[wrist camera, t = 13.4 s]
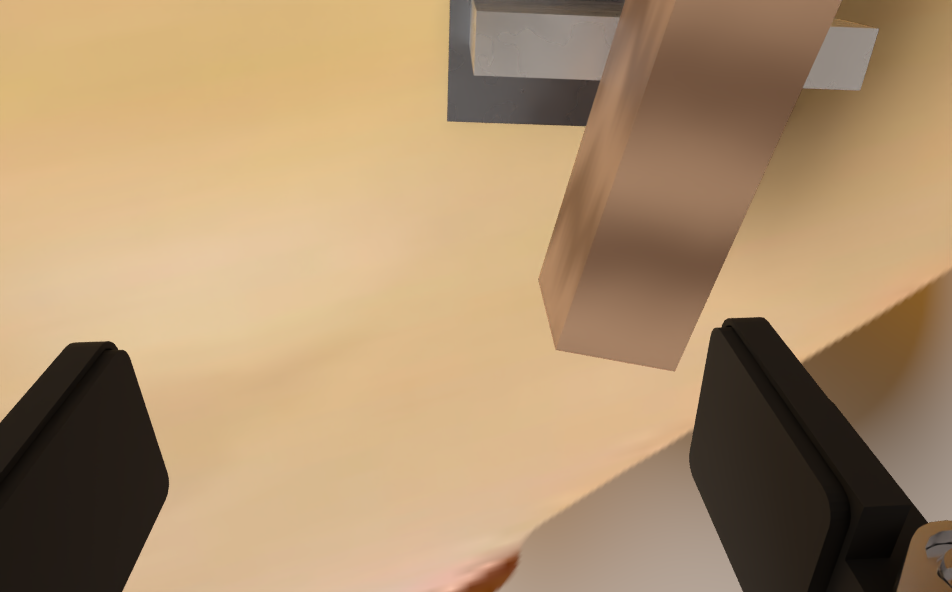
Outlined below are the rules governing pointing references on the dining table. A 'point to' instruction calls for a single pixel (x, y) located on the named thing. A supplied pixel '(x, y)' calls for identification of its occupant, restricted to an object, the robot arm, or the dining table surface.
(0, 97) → the dining table surface
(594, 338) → the brown wooden block
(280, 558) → the dining table surface
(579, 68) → the ridge stand
